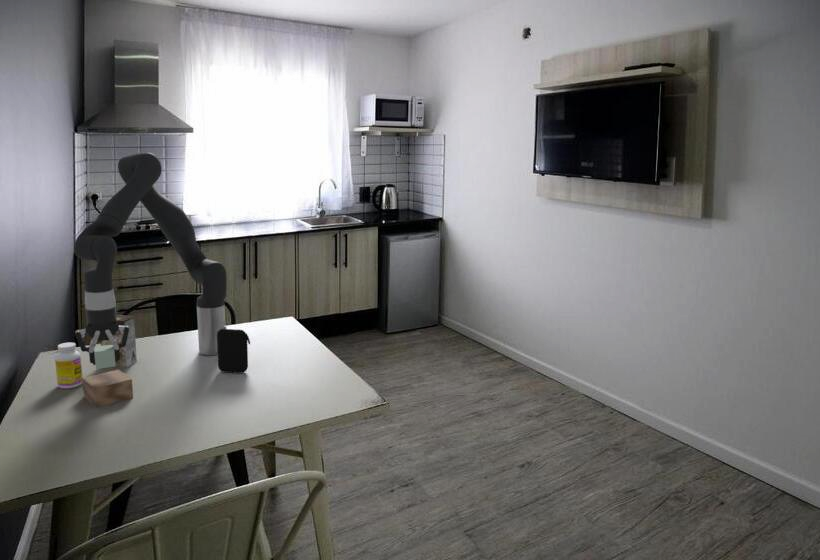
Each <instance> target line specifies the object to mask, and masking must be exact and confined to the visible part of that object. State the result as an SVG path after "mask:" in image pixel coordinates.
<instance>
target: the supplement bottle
mask: <svg viewBox="0 0 820 560" xmlns="http://www.w3.org/2000/svg"><path fill="white" fill-rule="evenodd" d="M76 349H77V344H76V343H75V342H63V343H60V344H58V345H57V350H58V352H57V353H56V354H55V356H54V363H55V373H56V381H57V387H58V388H60V389H73V388H78V387H79V386H81V385H83V380H82V378H83V369H82V359H81V353H80V351H77V350H76Z"/></svg>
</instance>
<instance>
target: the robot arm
mask: <svg viewBox="0 0 820 560" xmlns="http://www.w3.org/2000/svg"><path fill="white" fill-rule="evenodd" d="M162 167H163V166H162V164H161V161H160V159H159V158H158V157H157V156H156V155H155V154H153V152H152V153H151V152H140V153H135V154H130V155H127V156H123V157H122V158H120V159H119V160H118V162H117V169H118V173H119V176H120V178H121V180H122V181H123V182H124V184H125V185H124V186H123V187H122V188H121V189H119V190H118V192H116V193H115V194H114V195H113V196H112V197H111V198H110V199H109V200H108V201H107V202H106V203H105V205H104V206H103V208H102V209H101V211H100V213H99V214H98V215H97V217H96V219H95V220H94V221H93V222H92V223H90V224H89V225H88V226H87V227H86V228H85V229H84V230H82V231H81V232H80V233H79V235H78V236H77V237H76V238H75V241H74V244H73V252H74V254H75V256H76V257H77V258H79V259H80V260H85V261H97V264H96V267H93V268H90V269H87V270H84V273H83V286H84V307H85V319H86V325H85V328H83V329H76V330H75V331H74V332H75V334H74V335H75V337H76V340H77V343H78V345H79V349H80V350H81V351H82V352H83V353H84V352H87V353H88V356H89V363H90V364H92V365H93V366H95V354H94V348H95V347H96V346H97V342H100V341H102V340H106V341H107V340H110V342H111V343H112V345H113V347H114V353H115V362H118V361H117V360H119V359H120V352H119V350H120V348H122V347H125V346H126V342H127V337H128V332H129V326H128V325H125V326H120V325H119V324H118V323H117V318H116V315H117V310H116V308H117V307H116V303H117V302H116V295H115V291H114V283H113V281H114V280H113V275H114V274H113V273H114V268H115V263H116V258H117V255H118V247H117V243H116V241H115V239H114V238H115V237H117V236H119V235H120V234H121V232H122V230H123V229H124V226H125V225H126V223H127V222H128V219H129V218H130V216H131V215H132V214H133V211H134V210H135V208H136V207H137V205H138V204H139V203H140V202H141V204H142V205H143V206H144V208H145V209H146V210H147V212H148V213H149V215H150V216H151V217H152V218H153V220H154V221H155V223H156V224H157V225H156V226H158V228H159V229H160V230H161V232H162V234H163V235H164V236H165V237H166V239H167V240H168V241H169V242H168V243H170V244H171V246H172V248H173V249H174V250H175V252H176V253H177V254H178V255H179V257H180V259H181V260H182V262H183V264H184V266H185V267H186V269H187V271H188V274H189V276H190V277H191V278H192V280H193V281H194V282H195V283H196V284H198V285H200V286H202V294H201V295H200V296H198V297H196V315H197V316H196V317H197V318H196V319H197V336H198V351H199V354H201V355H203V356H216V355H217V354H218V350H217V332H218V331H219V330H220V329H228V328H227V327H228V326H227V325H226V314H225V312H226V311H225V300H226V296H227V282H228V281H227V279H228V278H227V271H226V268H225V265H224V264H223V263H221V262H219V261H216V260H211V259H209V258H208V257H207V256H206V255H205V254H204V253H203V251H202V249H201V248H200V247H199V245H198V242H197V237H196V232H195V228H194V225H193V223H192V222H191V220H190V219H189V217H188V216H187V214H186V213H185V211H184V210H183V209H182V208H181V207H180V206H179V205H177V204H176V203H175V202H174V201H172V200H171V199H169V198H168V197H165V196H164V195H163V194H161V193H160V192H159V191H158V190H157V189H156V187H155V186H154V185H155V184H156V183H157V181H158V180H159V178H160V177H161V175H162V171H163V170H162ZM118 329H119V330H120V331H121V333H122V334H123V335H122V340H121V342H120V343H118V342H117V340H116V338H115V336H114V335H115V334H116V332H117V331H118ZM86 334H87V335H88V336H90V337H91V340H90V344H89V346H88V345H86V343H85V340H84V338H85V335H86ZM217 356H218V355H217Z"/></svg>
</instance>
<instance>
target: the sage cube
mask: <svg viewBox="0 0 820 560" xmlns="http://www.w3.org/2000/svg"><path fill="white" fill-rule="evenodd" d="M94 354H95V365H94V366H95V369H96V370H98V369H105V368H113V367H116V366H115V353H114V347H113V345H105V346H101V345H98V346H97V345H96V346H95V348H94Z"/></svg>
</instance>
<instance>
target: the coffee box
mask: <svg viewBox="0 0 820 560" xmlns="http://www.w3.org/2000/svg"><path fill="white" fill-rule="evenodd" d="M116 318H117V323H118V324H119V325H120V326H125V325H128V326H129V332H128V337H127V342H126V346H125V347H122V348H120V350H119V352H120V359H119V360H117V361H118V362H115V367H117V368H118V367H119V368H129V366H131V365H133V364H134V363H136V362H137V361H138V360H137V359H138V358H137V345H136V344H137V342H136V327H135V316H134V315H126V314H125V315H124V314H116ZM122 335H123V334H122V333H121V331H120V330H119V329H118V331H117V332H116V334H115V335H114V336H115V338H116V340H117V342H118V343H120V342H121V340H122ZM99 342H100V346H105V345H112V343H111V342H110V340H107V341H106V340H102V341H99Z"/></svg>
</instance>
